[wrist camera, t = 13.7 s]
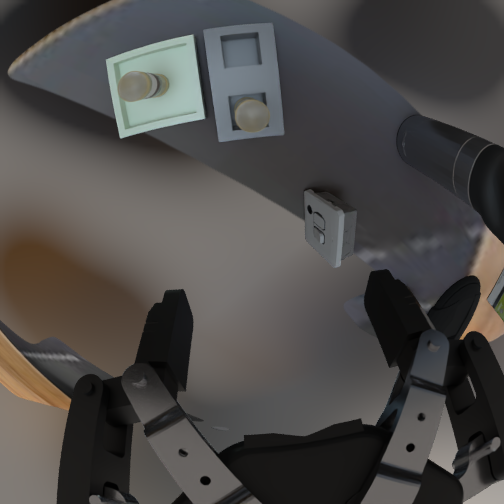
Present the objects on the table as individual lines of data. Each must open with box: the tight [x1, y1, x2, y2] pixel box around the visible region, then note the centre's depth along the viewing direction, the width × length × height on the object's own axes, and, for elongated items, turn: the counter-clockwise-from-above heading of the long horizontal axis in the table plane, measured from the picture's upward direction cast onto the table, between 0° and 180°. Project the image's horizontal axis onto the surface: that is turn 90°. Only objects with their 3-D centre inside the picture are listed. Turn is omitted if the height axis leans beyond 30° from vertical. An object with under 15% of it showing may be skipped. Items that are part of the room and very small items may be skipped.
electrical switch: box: [304, 189, 357, 268], centre depth 40 cm, size 9×5×9 cm, turn 7°
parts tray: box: [106, 35, 207, 138], centre depth 29 cm, size 12×12×2 cm
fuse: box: [234, 97, 270, 132], centre depth 28 cm, size 3×3×10 cm
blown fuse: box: [118, 71, 169, 102], centre depth 25 cm, size 3×3×10 cm
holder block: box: [203, 23, 284, 142], centre depth 29 cm, size 8×15×5 cm, turn 6°
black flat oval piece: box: [427, 276, 481, 340], centre depth 66 cm, size 25×40×5 cm, turn 8°
